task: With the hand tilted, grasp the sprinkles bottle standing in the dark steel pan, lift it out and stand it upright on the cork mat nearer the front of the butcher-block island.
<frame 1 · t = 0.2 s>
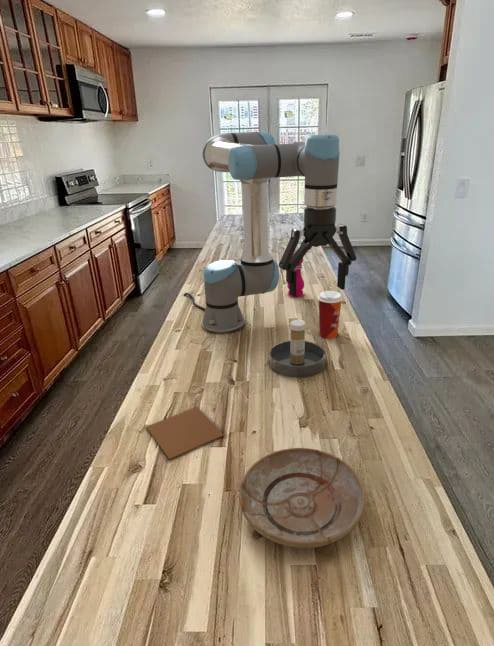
hand: (317, 291, 112), 28 cm above the countertop, tool pointing down, fingers open, 13 cm apart
cork mat: (184, 432, 106), on the countertop
ceramic bowl: (301, 508, 84), on the countertop
pan: (297, 362, 135), on the countertop
sprinkles bottle: (297, 362, 135), resting on pan
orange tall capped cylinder: (328, 335, 152), on the countertop
pepper mill: (295, 295, 188), on the countertop
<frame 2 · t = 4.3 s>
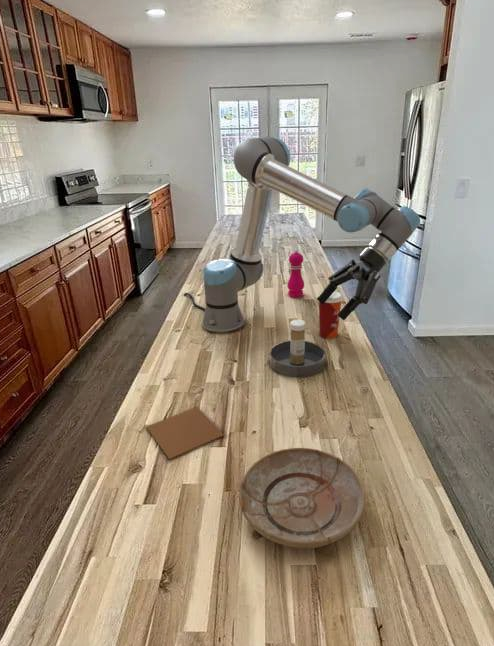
hand: (329, 309, 131), 16 cm above the countertop, tool tilted 45°, fingers open, 13 cm apart
nothing on the countertop moved.
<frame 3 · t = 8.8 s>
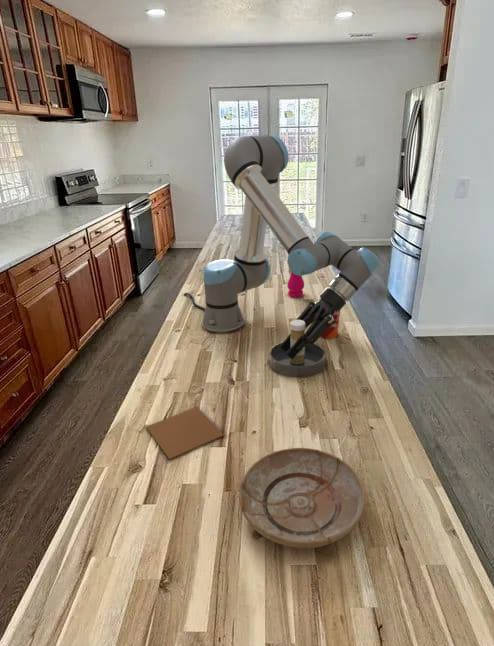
hand: (285, 352, 132), 4 cm above the countertop, tool tilted 45°, fingers closed on sprinkles bottle, 4 cm apart
sprinkles bottle: (297, 362, 135), resting on pan, touching gripper
everything else where it was.
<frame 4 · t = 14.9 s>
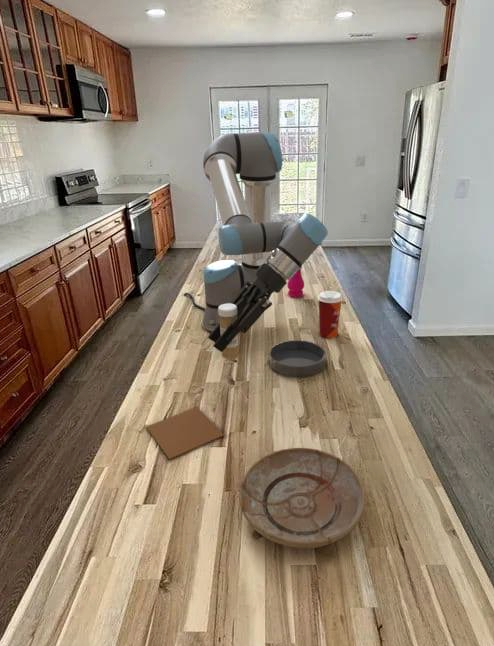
hand: (214, 344, 107), 18 cm above the countertop, tool tilted 45°, fingers closed on sprinkles bottle, 4 cm apart
sprinkles bottle: (230, 356, 110), point 14 cm above the countertop, touching gripper
everything else where it was.
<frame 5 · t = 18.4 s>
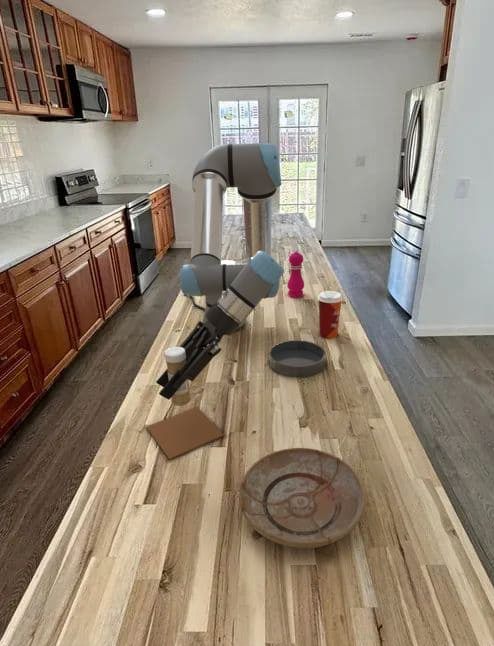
hand: (162, 390, 99), 13 cm above the countertop, tool tilted 45°, fingers closed on sprinkles bottle, 4 cm apart
sprinkles bottle: (181, 401, 102), point 9 cm above the countertop, touching gripper
everything else where it was.
when the fingers open (4 cm above the countertop, at t = 21.0 s): sprinkles bottle stays where it is, resting on cork mat.
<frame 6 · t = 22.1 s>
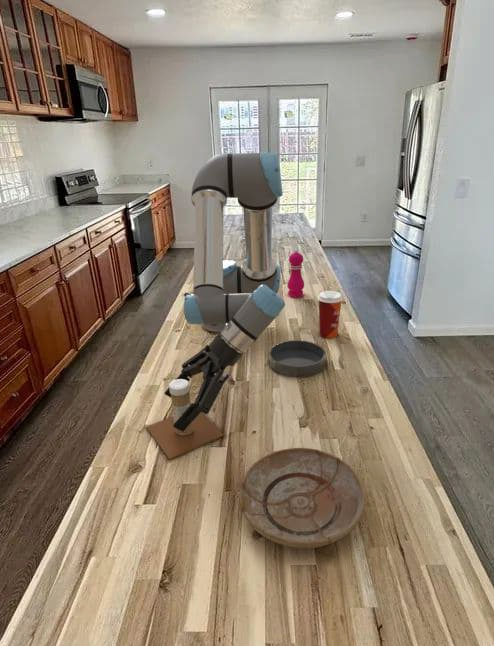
hand: (173, 411, 102), 7 cm above the countertop, tool tilted 45°, fingers open, 13 cm apart
sprinkles bottle: (184, 431, 106), resting on cork mat
everything else where it was.
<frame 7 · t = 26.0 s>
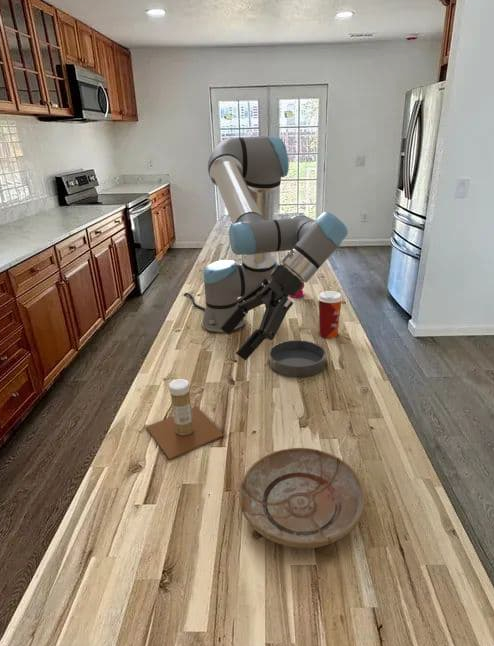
hand: (232, 343, 101), 21 cm above the countertop, tool tilted 45°, fingers open, 13 cm apart
nothing on the countertop moved.
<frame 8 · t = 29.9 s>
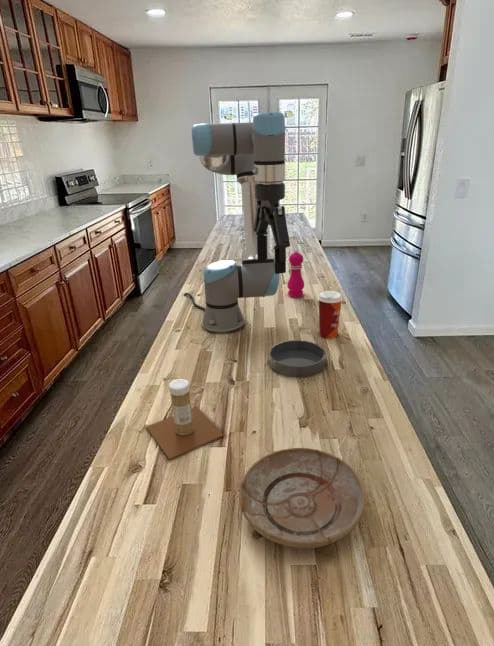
hand: (270, 265, 116), 33 cm above the countertop, tool pointing down, fingers open, 13 cm apart
nothing on the countertop moved.
at the end: sprinkles bottle inside the target area on the cork mat (0.1 cm from its centre), point 0.2 cm above the cork mat's base; sprinkles bottle tilted 0°; the gripper is holding nothing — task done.
